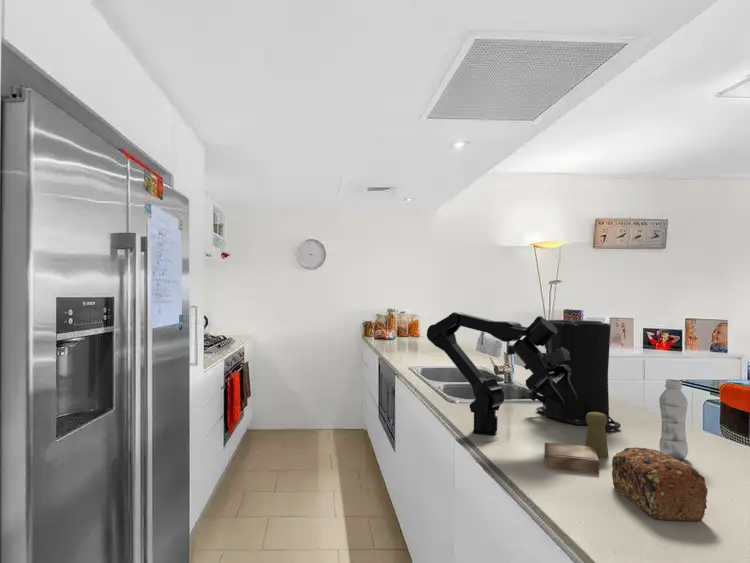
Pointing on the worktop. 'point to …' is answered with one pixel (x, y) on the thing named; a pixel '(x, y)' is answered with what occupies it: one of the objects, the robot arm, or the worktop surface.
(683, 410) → the plastic bottle
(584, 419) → the coffee maker
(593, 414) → the cork
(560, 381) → the robot arm
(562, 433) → the worktop surface
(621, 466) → the bread
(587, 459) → the plate
